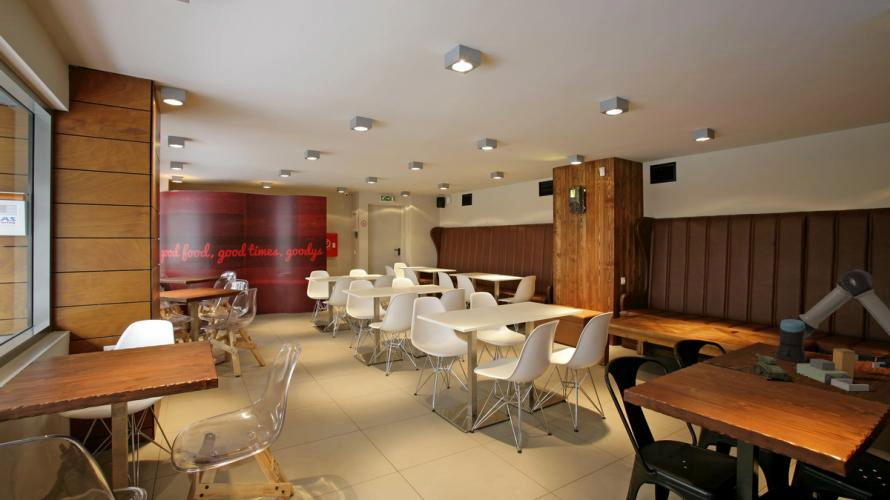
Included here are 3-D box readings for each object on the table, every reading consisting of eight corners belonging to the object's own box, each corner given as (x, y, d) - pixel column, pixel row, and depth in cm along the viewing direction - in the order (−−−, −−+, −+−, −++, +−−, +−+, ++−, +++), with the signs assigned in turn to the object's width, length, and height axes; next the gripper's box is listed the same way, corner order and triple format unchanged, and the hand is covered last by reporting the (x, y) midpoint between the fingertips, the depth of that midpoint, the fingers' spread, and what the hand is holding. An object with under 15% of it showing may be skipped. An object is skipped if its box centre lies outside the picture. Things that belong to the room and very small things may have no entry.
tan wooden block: (831, 376, 233) (833, 348, 232) (843, 376, 234) (845, 348, 233) (840, 379, 228) (842, 351, 227) (853, 379, 229) (855, 351, 228)
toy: (765, 370, 240) (766, 353, 239) (788, 382, 221) (789, 362, 221) (746, 369, 241) (747, 352, 240) (767, 381, 222) (769, 361, 222)
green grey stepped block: (793, 371, 239) (794, 355, 239) (815, 371, 240) (816, 355, 240) (846, 391, 210) (848, 372, 210) (871, 391, 211) (872, 372, 211)
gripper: (922, 376, 220) (884, 375, 219) (870, 361, 245) (836, 361, 244) (923, 361, 220) (885, 361, 218) (871, 348, 245) (837, 347, 243)
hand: (859, 361), depth 231 cm, fingers open, 13 cm apart
